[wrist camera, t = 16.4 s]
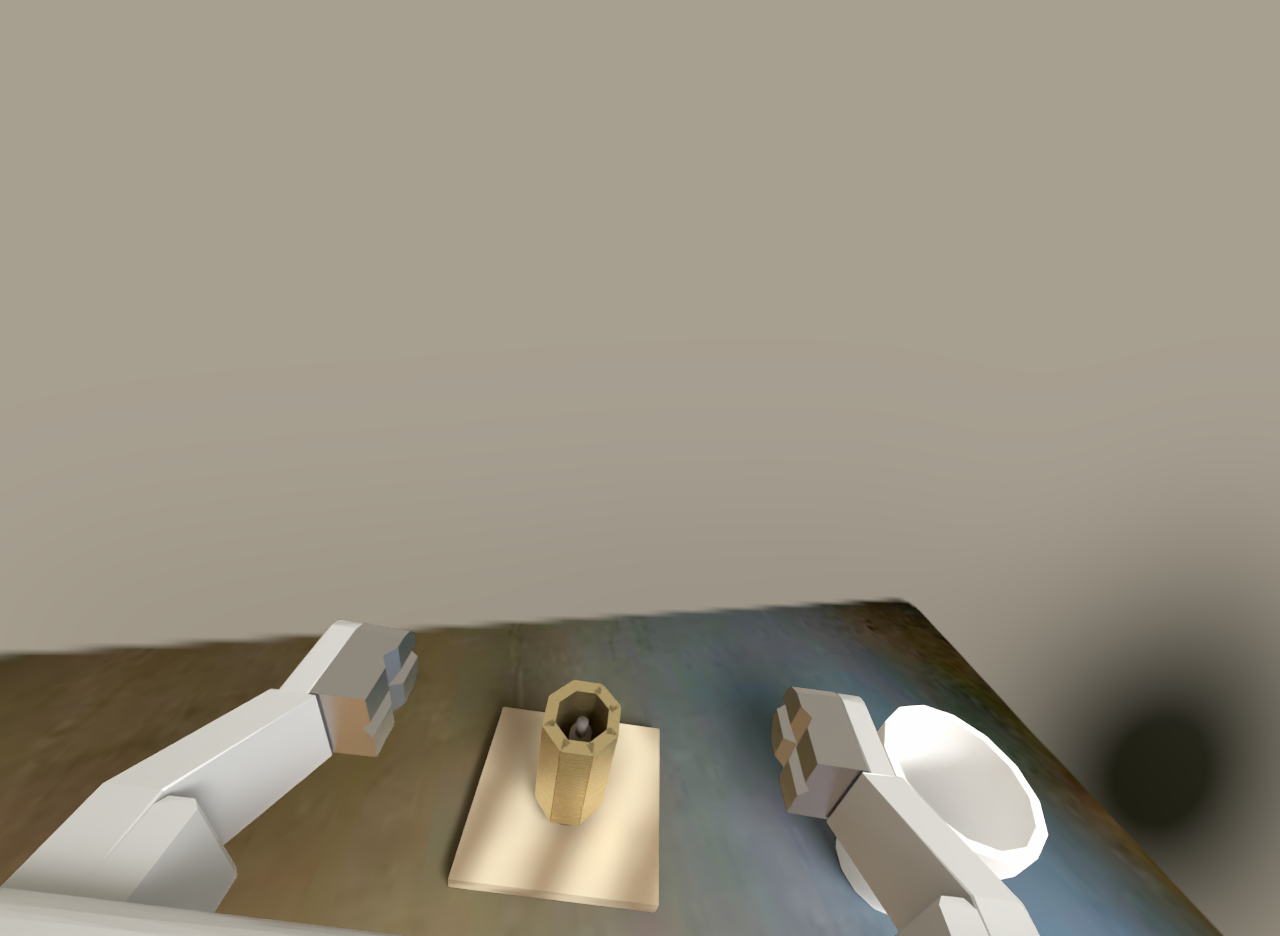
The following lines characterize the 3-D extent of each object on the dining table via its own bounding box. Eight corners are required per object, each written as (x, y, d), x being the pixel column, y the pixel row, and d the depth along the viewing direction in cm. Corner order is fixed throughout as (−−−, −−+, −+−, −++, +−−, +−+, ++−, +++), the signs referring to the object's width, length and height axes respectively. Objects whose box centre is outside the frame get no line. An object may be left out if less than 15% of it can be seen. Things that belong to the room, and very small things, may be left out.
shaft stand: (448, 886, 31) (441, 808, 26) (503, 714, 41) (505, 635, 36) (655, 912, 31) (688, 841, 26) (657, 736, 42) (680, 661, 37)
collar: (529, 819, 33) (536, 748, 28) (545, 748, 37) (553, 677, 33) (598, 828, 33) (616, 759, 29) (606, 756, 37) (622, 687, 33)
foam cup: (923, 821, 39) (1007, 733, 33) (961, 971, 31) (1081, 891, 25) (811, 780, 41) (871, 687, 34) (820, 913, 33) (900, 824, 26)
